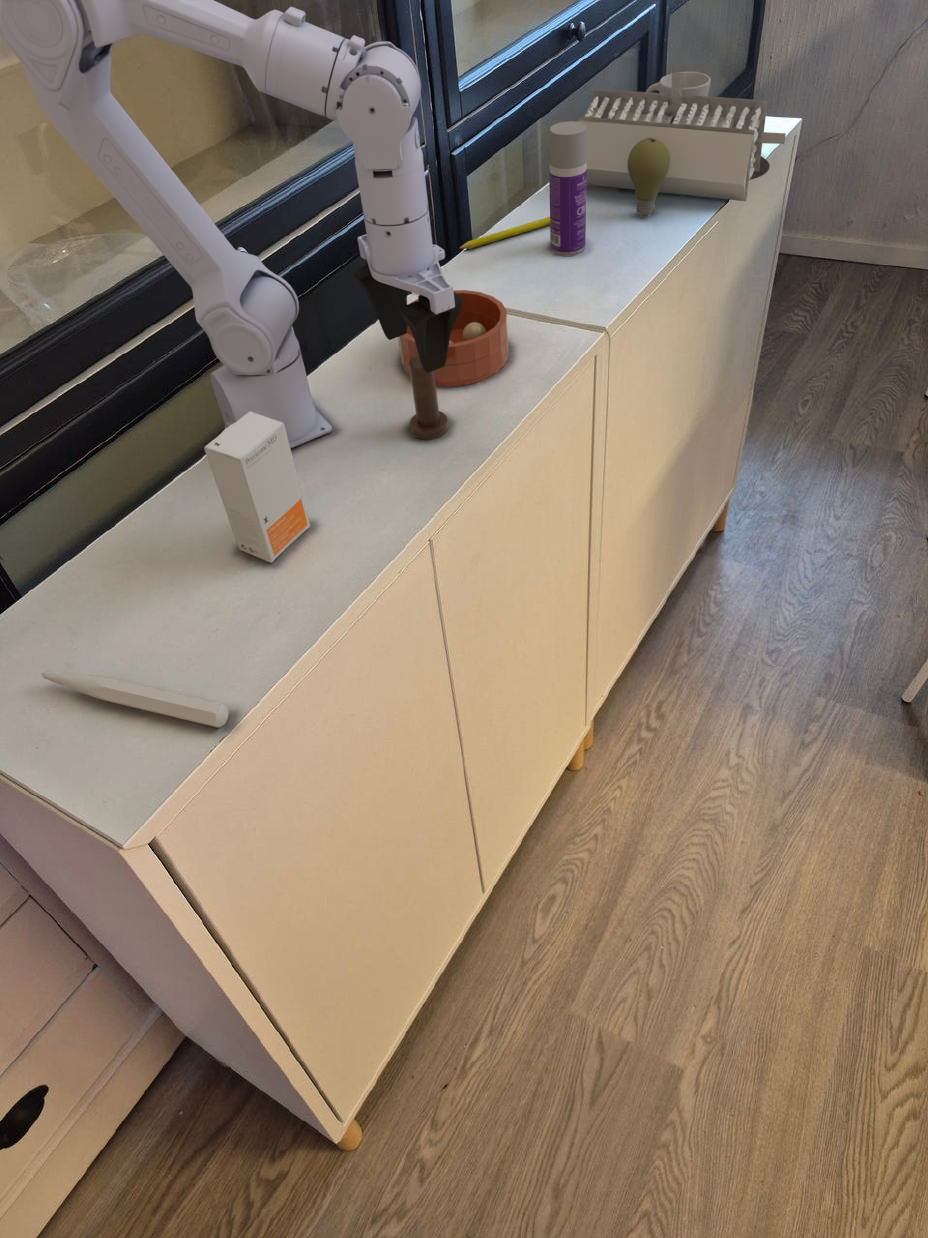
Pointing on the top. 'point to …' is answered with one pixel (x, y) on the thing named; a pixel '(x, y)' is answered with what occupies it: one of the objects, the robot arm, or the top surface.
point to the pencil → (506, 233)
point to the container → (567, 188)
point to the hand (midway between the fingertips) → (415, 351)
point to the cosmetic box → (258, 485)
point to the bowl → (468, 342)
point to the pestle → (425, 404)
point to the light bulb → (648, 172)
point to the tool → (144, 698)
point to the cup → (685, 84)
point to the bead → (473, 331)
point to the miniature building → (678, 139)
